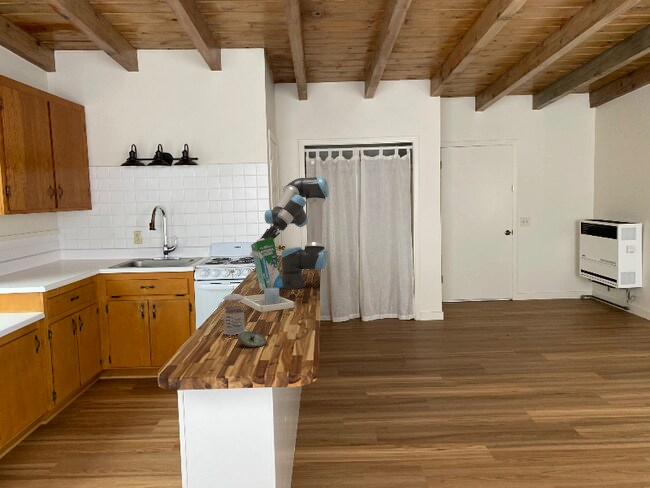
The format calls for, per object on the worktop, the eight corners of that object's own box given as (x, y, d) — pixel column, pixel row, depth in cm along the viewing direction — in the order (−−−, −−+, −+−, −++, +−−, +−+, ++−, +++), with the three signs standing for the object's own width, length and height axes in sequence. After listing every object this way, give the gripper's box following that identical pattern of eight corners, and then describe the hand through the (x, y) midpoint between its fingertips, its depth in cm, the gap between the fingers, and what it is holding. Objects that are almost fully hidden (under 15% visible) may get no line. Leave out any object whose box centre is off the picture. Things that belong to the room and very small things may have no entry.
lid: (253, 339, 198) (252, 326, 198) (272, 343, 192) (271, 329, 191) (232, 346, 190) (231, 332, 189) (251, 350, 184) (250, 336, 183)
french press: (242, 335, 204) (239, 271, 202) (214, 334, 206) (211, 271, 204) (250, 328, 213) (248, 267, 211) (224, 328, 216) (221, 267, 213)
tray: (240, 303, 264) (240, 296, 264) (272, 299, 272) (272, 293, 272) (260, 314, 240) (260, 306, 239) (294, 309, 247) (294, 302, 247)
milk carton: (276, 284, 265) (266, 236, 261) (283, 286, 257) (273, 237, 253) (259, 288, 261) (249, 240, 257) (266, 291, 253) (256, 241, 249)
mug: (262, 306, 251) (261, 288, 250) (276, 304, 254) (275, 286, 253) (269, 310, 243) (269, 290, 242) (283, 308, 246) (283, 289, 245)
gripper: (272, 215, 269) (242, 249, 263) (282, 215, 257) (251, 252, 250) (282, 225, 272) (252, 259, 266) (293, 226, 259) (262, 262, 253)
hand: (252, 255), depth 258 cm, fingers closed
